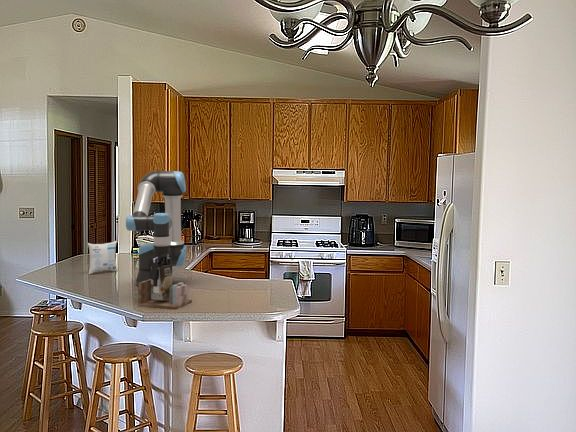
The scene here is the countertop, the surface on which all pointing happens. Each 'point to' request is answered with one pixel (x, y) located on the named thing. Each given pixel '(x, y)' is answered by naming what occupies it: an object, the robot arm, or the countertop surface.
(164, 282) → the coffee box
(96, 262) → the pouch
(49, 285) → the countertop surface
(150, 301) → the shelf
